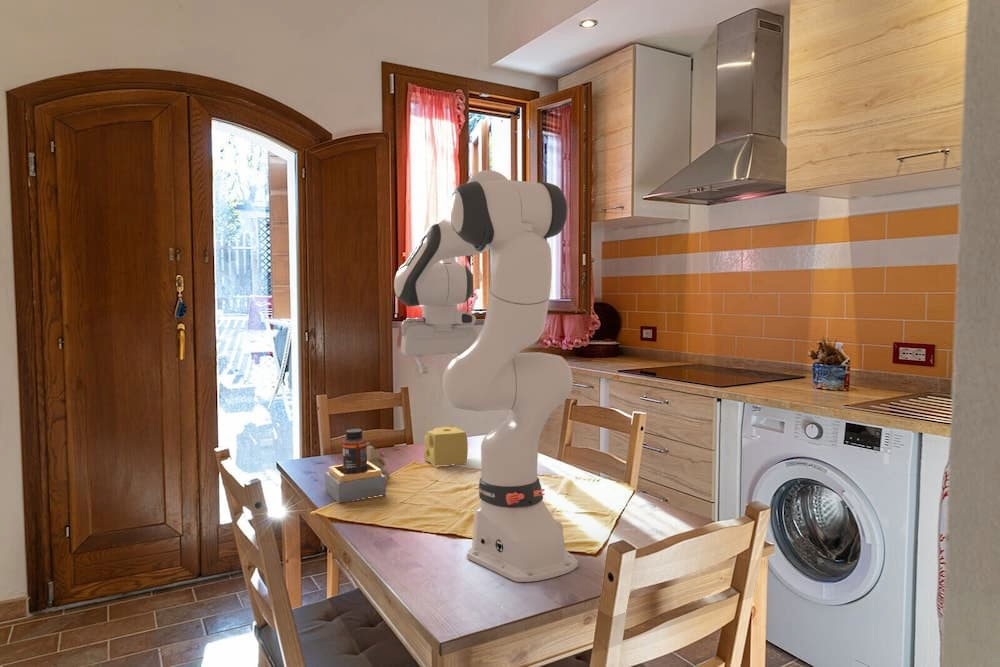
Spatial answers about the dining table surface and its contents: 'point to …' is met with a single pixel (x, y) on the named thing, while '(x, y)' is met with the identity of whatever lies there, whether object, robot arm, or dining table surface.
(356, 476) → the grey wooden-rimmed box
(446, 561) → the dining table surface
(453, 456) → the cheese
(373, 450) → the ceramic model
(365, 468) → the supplement bottle
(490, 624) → the dining table surface
